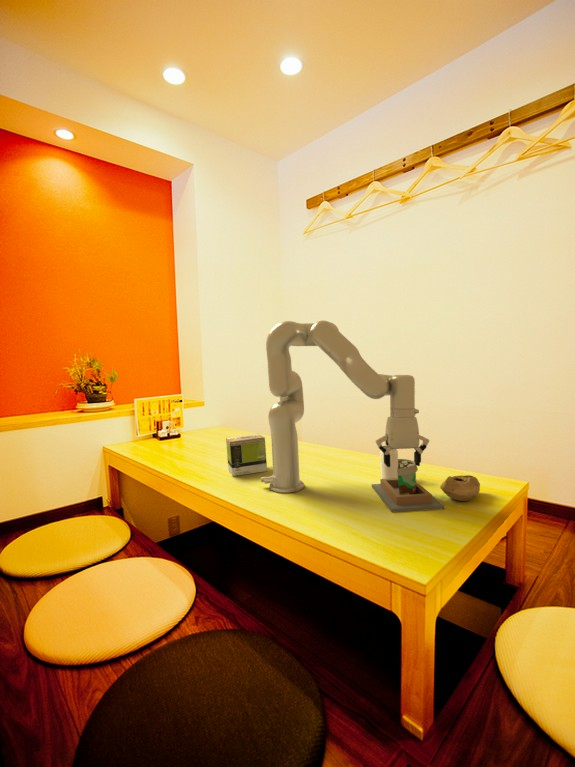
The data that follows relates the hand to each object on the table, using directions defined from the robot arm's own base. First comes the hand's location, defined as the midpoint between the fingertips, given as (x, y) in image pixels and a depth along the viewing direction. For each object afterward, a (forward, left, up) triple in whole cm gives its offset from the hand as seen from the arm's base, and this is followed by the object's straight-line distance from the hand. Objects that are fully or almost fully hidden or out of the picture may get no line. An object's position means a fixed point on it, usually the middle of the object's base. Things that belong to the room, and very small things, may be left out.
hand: (402, 465), depth 121 cm
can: (+2, +19, -11) cm, 22 cm away
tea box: (-53, +39, -11) cm, 67 cm away
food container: (+2, -1, -10) cm, 10 cm away
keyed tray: (+1, 0, -11) cm, 11 cm away
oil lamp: (+18, -3, -11) cm, 21 cm away
